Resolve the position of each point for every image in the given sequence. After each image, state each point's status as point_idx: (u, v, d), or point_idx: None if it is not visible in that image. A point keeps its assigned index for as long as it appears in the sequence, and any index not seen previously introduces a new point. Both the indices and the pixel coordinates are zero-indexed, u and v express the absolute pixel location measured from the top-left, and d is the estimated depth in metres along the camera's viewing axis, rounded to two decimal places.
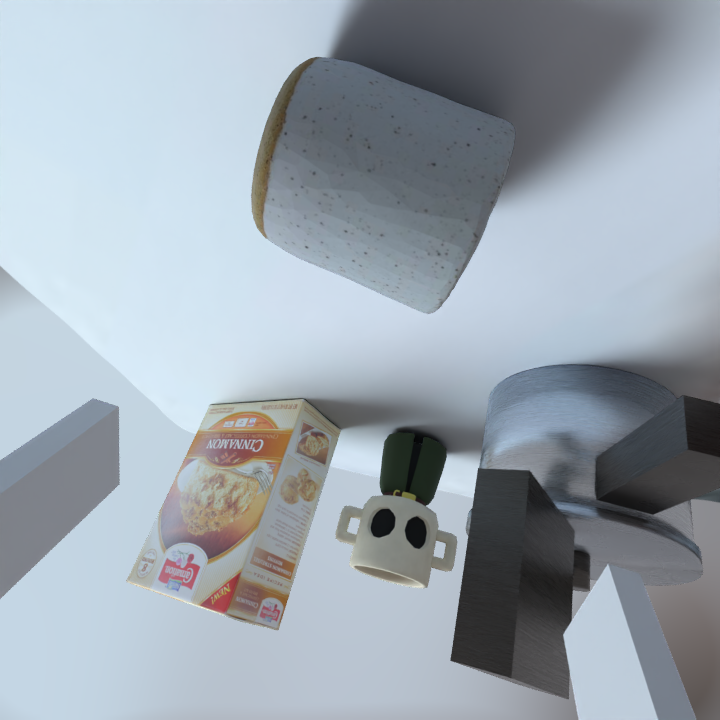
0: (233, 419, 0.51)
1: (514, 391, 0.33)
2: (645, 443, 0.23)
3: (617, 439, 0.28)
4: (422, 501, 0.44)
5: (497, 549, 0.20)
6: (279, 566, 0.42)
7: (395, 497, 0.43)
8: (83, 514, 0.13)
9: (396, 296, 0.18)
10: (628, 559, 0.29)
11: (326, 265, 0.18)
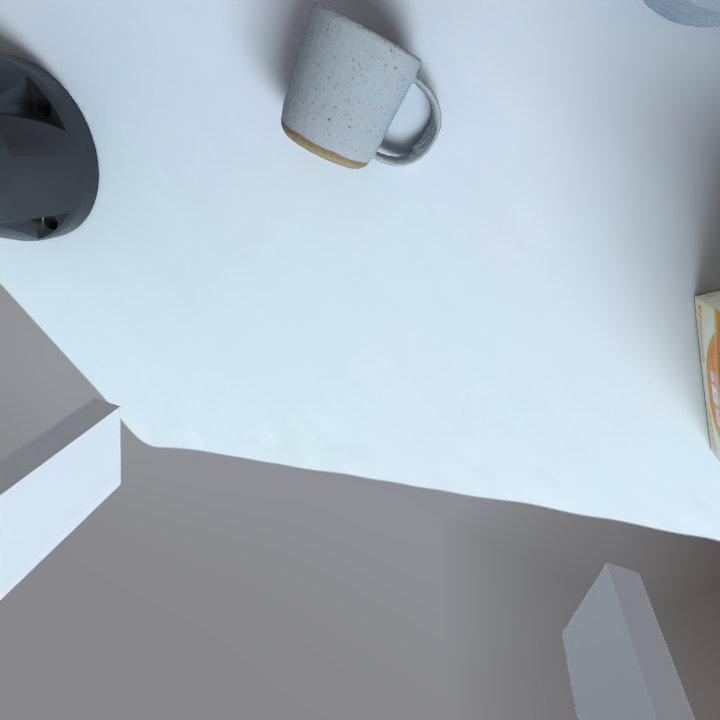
0: (714, 408, 0.39)
1: None
2: None
3: None
4: None
5: None
6: None
7: None
8: (85, 514, 0.13)
9: (366, 64, 0.29)
10: None
11: (346, 112, 0.31)
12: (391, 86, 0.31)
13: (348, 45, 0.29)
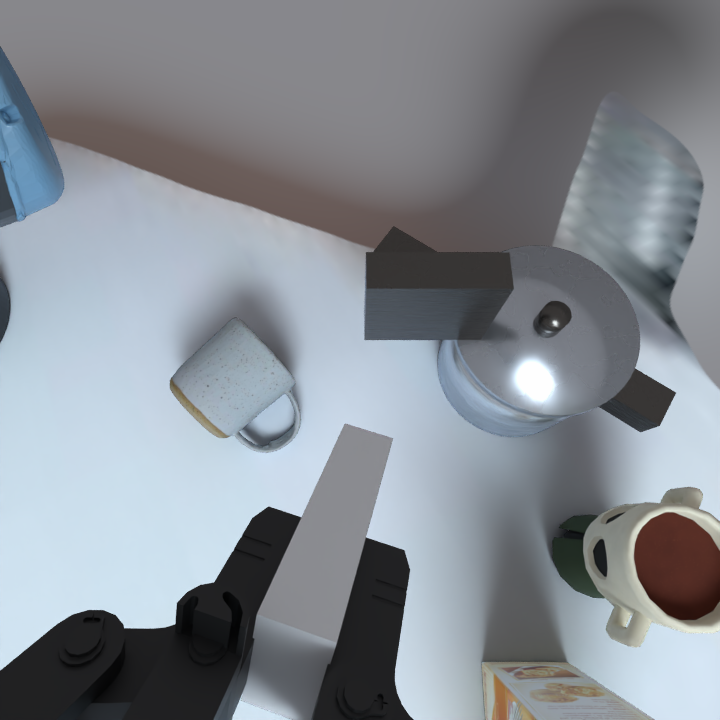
0: None
1: (449, 392, 0.43)
2: None
3: None
4: None
5: None
6: None
7: (583, 543, 0.34)
8: None
9: (251, 361, 0.38)
10: (537, 286, 0.37)
11: (223, 386, 0.37)
12: (266, 384, 0.39)
13: (243, 345, 0.38)
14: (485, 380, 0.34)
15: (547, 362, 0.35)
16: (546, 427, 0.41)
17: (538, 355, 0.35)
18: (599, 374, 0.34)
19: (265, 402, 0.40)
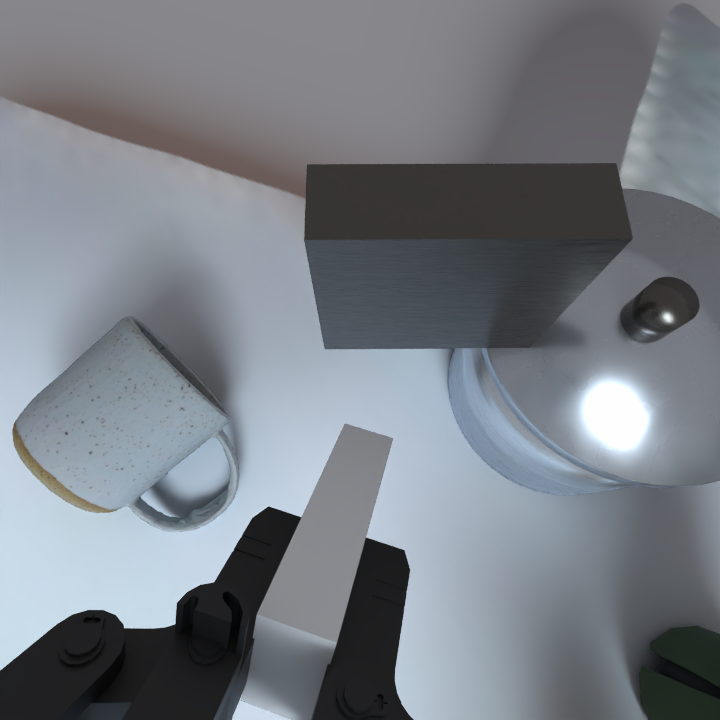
0: None
1: (467, 427, 0.28)
2: None
3: None
4: None
5: None
6: None
7: None
8: None
9: (143, 390, 0.22)
10: (622, 255, 0.22)
11: (94, 434, 0.22)
12: (171, 426, 0.23)
13: (130, 363, 0.23)
14: (541, 421, 0.19)
15: (649, 387, 0.19)
16: None
17: (633, 375, 0.20)
18: None
19: (175, 454, 0.25)
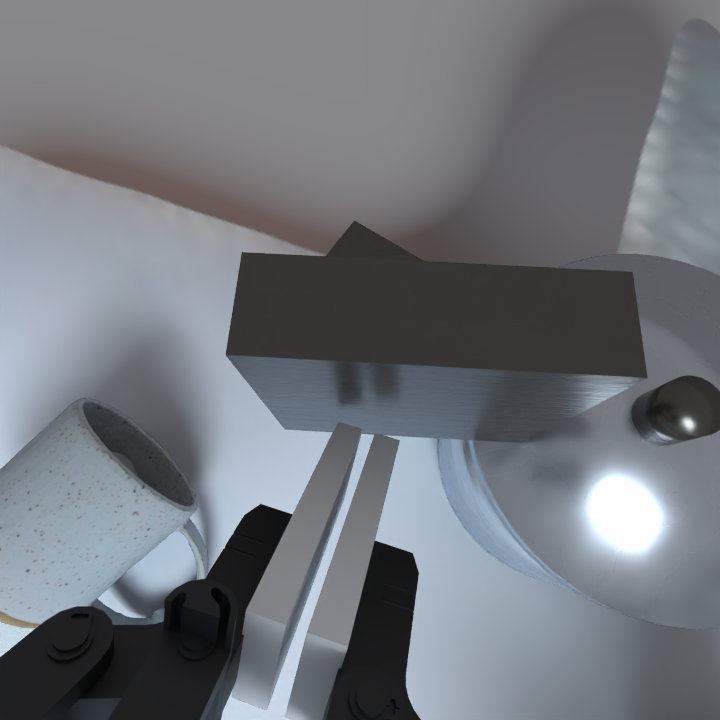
0: None
1: (458, 508, 0.25)
2: None
3: None
4: None
5: None
6: None
7: None
8: (333, 525, 0.14)
9: (89, 495, 0.20)
10: None
11: (32, 549, 0.19)
12: (123, 533, 0.20)
13: (74, 464, 0.20)
14: (529, 535, 0.16)
15: (661, 501, 0.17)
16: None
17: (642, 484, 0.17)
18: None
19: (131, 558, 0.22)
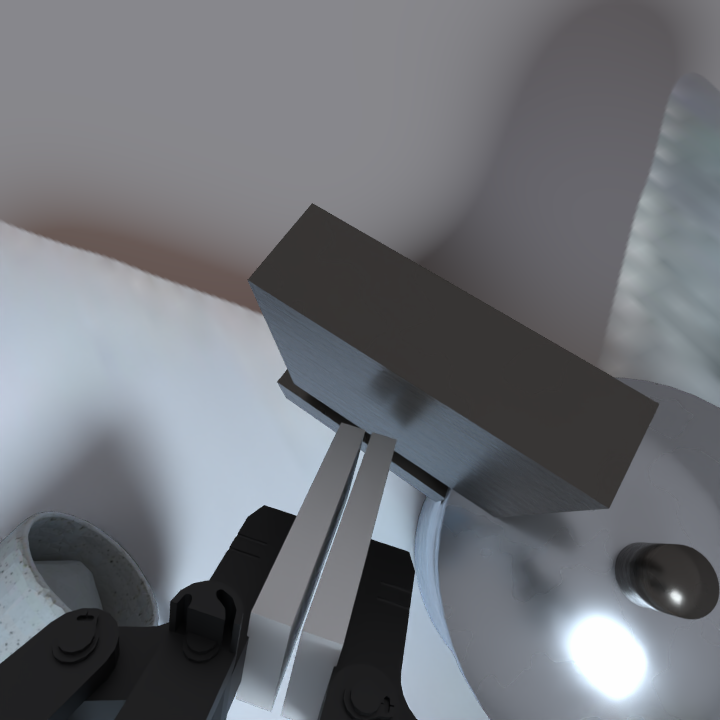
0: None
1: (433, 621, 0.23)
2: None
3: None
4: None
5: None
6: None
7: None
8: (336, 526, 0.14)
9: None
10: (673, 486, 0.17)
11: None
12: None
13: (14, 610, 0.18)
14: (450, 602, 0.16)
15: (597, 652, 0.15)
16: None
17: (588, 625, 0.15)
18: None
19: None
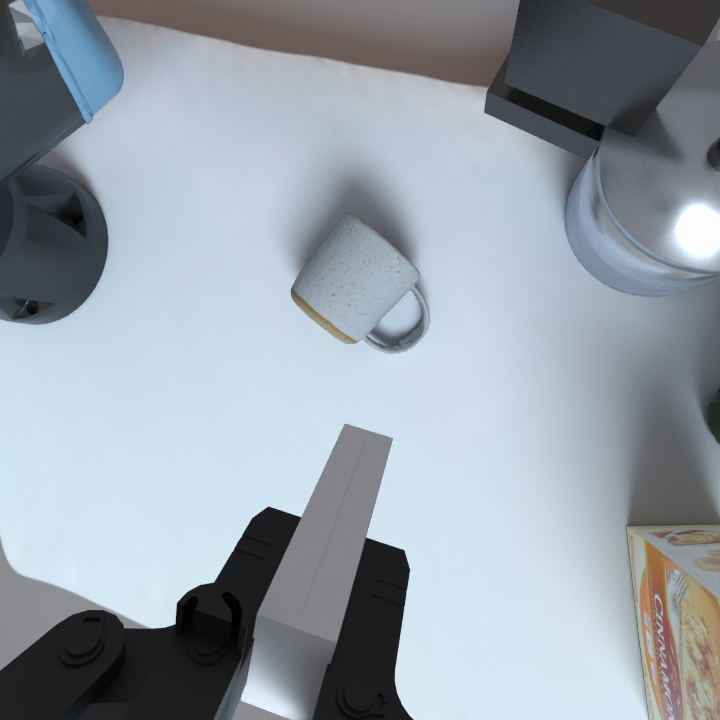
0: (650, 662, 0.35)
1: (582, 254, 0.37)
2: (524, 121, 0.33)
3: None
4: None
5: None
6: None
7: None
8: None
9: (375, 261, 0.34)
10: None
11: (349, 293, 0.35)
12: (392, 284, 0.35)
13: (364, 244, 0.34)
14: (608, 184, 0.29)
15: (693, 196, 0.28)
16: None
17: (689, 184, 0.28)
18: None
19: (392, 303, 0.37)
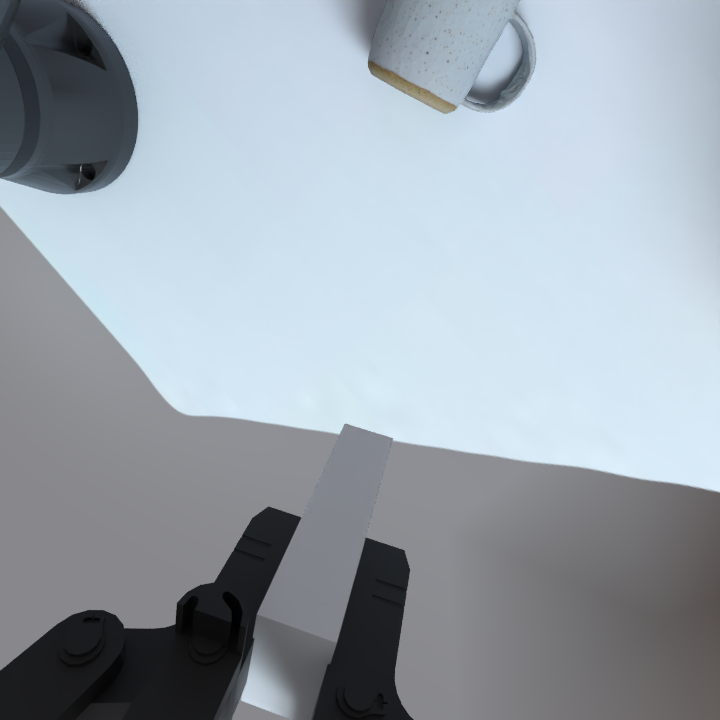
0: None
1: None
2: None
3: None
4: None
5: None
6: None
7: None
8: None
9: None
10: None
11: (446, 45, 0.29)
12: (494, 16, 0.29)
13: None
14: None
15: None
16: None
17: None
18: None
19: (493, 43, 0.31)
